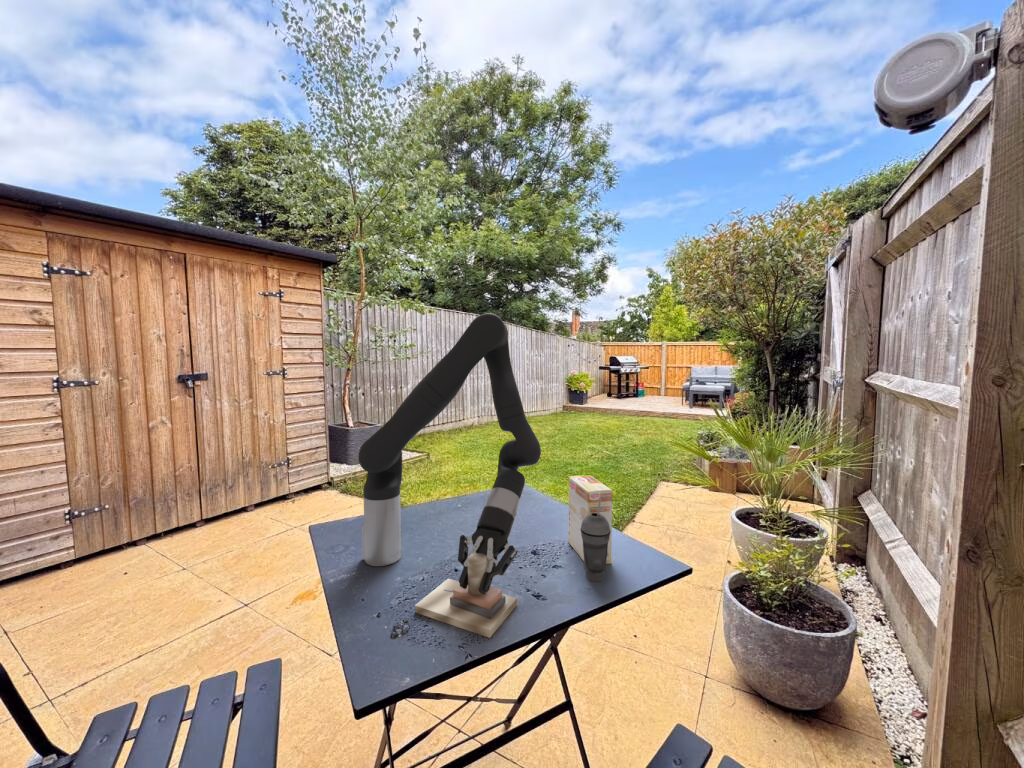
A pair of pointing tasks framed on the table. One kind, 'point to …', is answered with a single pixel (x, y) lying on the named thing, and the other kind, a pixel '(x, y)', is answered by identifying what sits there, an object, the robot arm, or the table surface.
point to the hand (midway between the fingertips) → (472, 589)
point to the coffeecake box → (587, 508)
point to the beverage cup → (595, 544)
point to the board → (461, 610)
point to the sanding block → (477, 590)
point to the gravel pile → (400, 628)
